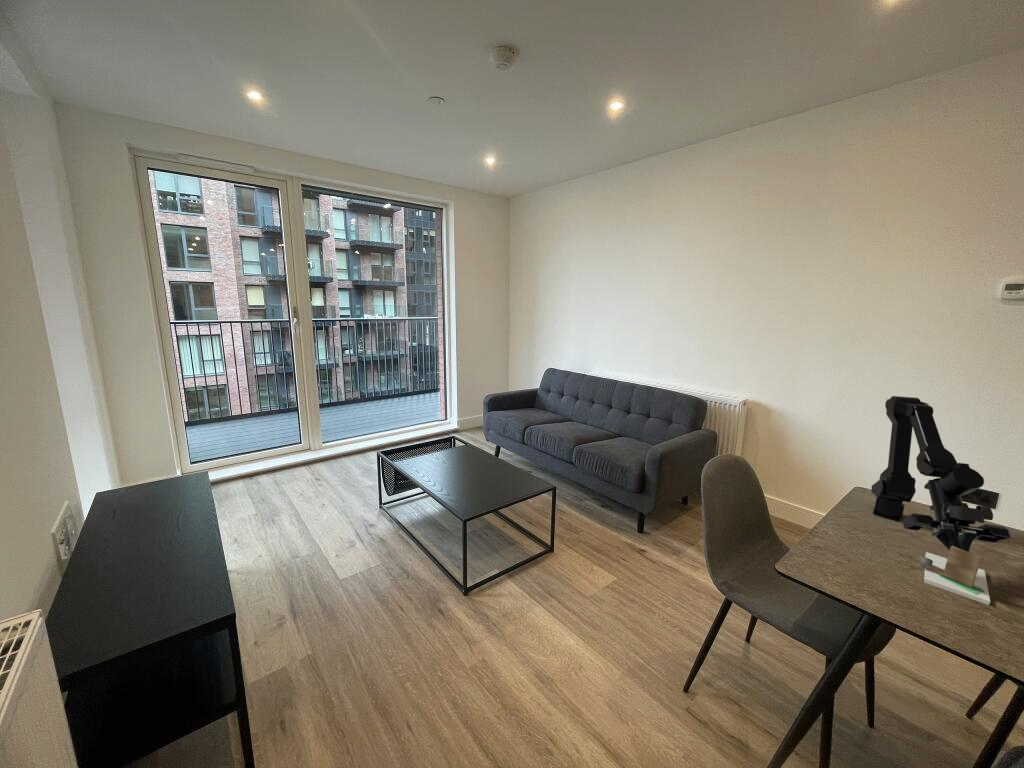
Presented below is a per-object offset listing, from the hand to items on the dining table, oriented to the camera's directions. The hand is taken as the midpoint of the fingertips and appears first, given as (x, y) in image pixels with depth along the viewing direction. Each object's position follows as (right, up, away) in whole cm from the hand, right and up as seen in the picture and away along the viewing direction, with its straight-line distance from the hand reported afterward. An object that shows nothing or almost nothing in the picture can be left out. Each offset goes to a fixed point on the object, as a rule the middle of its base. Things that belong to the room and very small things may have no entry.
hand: (963, 563), depth 102 cm
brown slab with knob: (-1, -4, +1) cm, 5 cm away
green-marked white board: (+2, -5, +4) cm, 7 cm away
